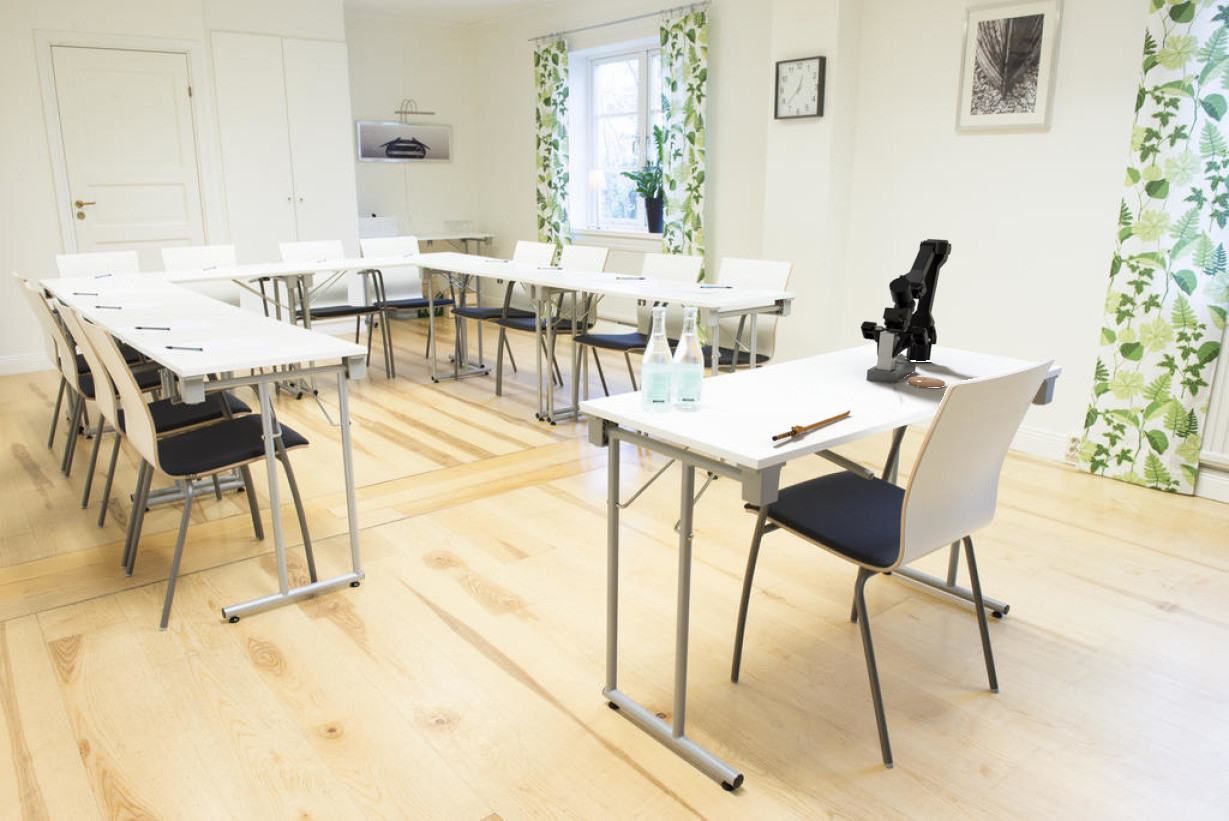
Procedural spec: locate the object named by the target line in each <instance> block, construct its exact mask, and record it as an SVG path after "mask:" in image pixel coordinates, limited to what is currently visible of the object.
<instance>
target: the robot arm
mask: <svg viewBox="0 0 1229 821" xmlns="http://www.w3.org/2000/svg"><path fill="white" fill-rule="evenodd" d="M951 253H952V244H951V242H950V243H949V240H948V239H940V238H939V239H937V238H936V239H935V238H933V239H932V238H927V239H925V240H921V241H920V243H919V249H918V252H917V254H916V256H915V259H914V261H913V263H912V266H911V268H910V269H909V270H910V271H909V272H907V273H905V274H901V275H900V274H899V276H898V277H896V278H894V279H892V280H891V281H890V283H889V284H888V286H889V287H888V288H889V290H890V291H889V292H890V295H891V300H892V302H893V303H894V305H893V307H884V311H883V314H882V319H884V322H883V324H884V326H882V325H878V323H877V322H876V321H869V320H868V321H866V320H865V321H863V322H862V323H861V325H860V329H861V334H862V337H863V339H865V340H870V341H871V340H872V341H874V342H875V343H876V355H877V356H878V351H879V341H880V332H883V331H893V332H899V333H898V337H899V341H898V343H897V345H896V347H895V349H894V352H893V355H892V358H895V357H896V358H897V356H899V355H898V354H900V353H901V352H902V353H903V352H904V351H905V350H906V355H905V357H906V358H907V359H909V360H916V361H926V360H931V354H932V346H933V345H937V341H938V340H937V339H938V336H937V334H938V333H937V330H936V327H935V326H936V325H935V323H936V320H935V319H934V316H933V314H932V312H933V311H932V310H933V307H934V306H933V305H934V301H935V296H936V291H937V287H938V282H939V276H940V273H941V272H940V271H941V268H942V267H943V266H944V265H945V264H946V263H947V261H948V259H949V256H950V254H951ZM915 300H917V301H918V302H916V301H915ZM916 303H917V304H916ZM916 305H917V306H916ZM915 308H916V309H915ZM885 325H886V328H885ZM907 359H906V360H907ZM909 360H908V361H909Z"/></svg>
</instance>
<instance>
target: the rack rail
mask: <svg viewBox="0 0 1229 821" xmlns="http://www.w3.org/2000/svg"><path fill="white" fill-rule="evenodd" d="M916 367H917V363H916V362H911V361H909V360H902V359H896V361H895V370H894V371H893V372H887V371H880V370H877V364H876V365H874V366H873V367H869V368H868V369H867V371H866V381H871V382H872V381H873V382H879V383H884V382H886V384H891V383H894V384H896V383H898V382H900V381H902V380H903V379H905V378H907V377H908V376H907V375H909V374H910V375H912V374H913V373H912V372H914V371H915V372H916ZM915 372H914V373H915ZM911 373H912V374H911ZM910 375H909V376H910ZM906 376H907V377H906ZM904 377H905V378H904ZM902 378H903V379H902ZM901 379H902V380H901ZM899 380H900V381H899ZM897 381H898V382H897Z"/></svg>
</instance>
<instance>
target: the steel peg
mask: <svg viewBox="0 0 1229 821" xmlns="http://www.w3.org/2000/svg"><path fill="white" fill-rule="evenodd" d="M898 333H899V332H893V331H883V332H880V341H879V351H878V355H877V362H876V365H877V370H880V371H887V372H893V371H894V370H895V361H896V360H897V356H896V357H895V358H892V355H893V352H894V349H895V347H896V345H897V342H898Z"/></svg>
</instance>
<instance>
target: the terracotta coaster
mask: <svg viewBox="0 0 1229 821" xmlns="http://www.w3.org/2000/svg"><path fill="white" fill-rule="evenodd" d="M907 383H909V384H908V385H910V384H911V385H910V386H912V385H914V386H913V387H916V386H919V387H918V388H921V387H942V386H944V385H946V382H945V381H944V380H942V379H938V378H934V377H927V376H915V377H914V376H913V377H909V378H908V379H907ZM944 387H945V386H944Z"/></svg>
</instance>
